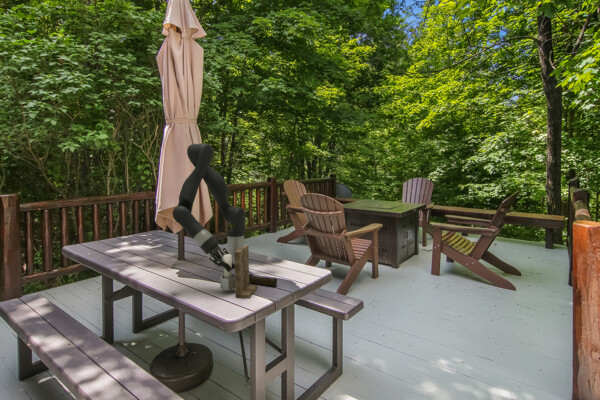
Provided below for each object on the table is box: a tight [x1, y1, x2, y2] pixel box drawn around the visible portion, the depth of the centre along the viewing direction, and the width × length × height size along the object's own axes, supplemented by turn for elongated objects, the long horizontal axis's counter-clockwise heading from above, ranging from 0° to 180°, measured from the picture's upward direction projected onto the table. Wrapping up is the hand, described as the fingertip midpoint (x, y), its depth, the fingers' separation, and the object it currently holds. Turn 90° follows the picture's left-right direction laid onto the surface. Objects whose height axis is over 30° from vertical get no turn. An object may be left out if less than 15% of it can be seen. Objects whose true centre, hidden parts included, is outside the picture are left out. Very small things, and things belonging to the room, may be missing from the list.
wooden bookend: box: [234, 245, 259, 299], centre depth 150 cm, size 12×6×20 cm, turn 169°
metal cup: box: [219, 273, 235, 291], centre depth 152 cm, size 7×9×5 cm
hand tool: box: [249, 273, 278, 288], centre depth 162 cm, size 19×4×5 cm, turn 68°
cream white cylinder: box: [223, 254, 233, 279], centre depth 152 cm, size 4×4×12 cm
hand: (232, 269), depth 151 cm, fingers closed on cream white cylinder, 3 cm apart
